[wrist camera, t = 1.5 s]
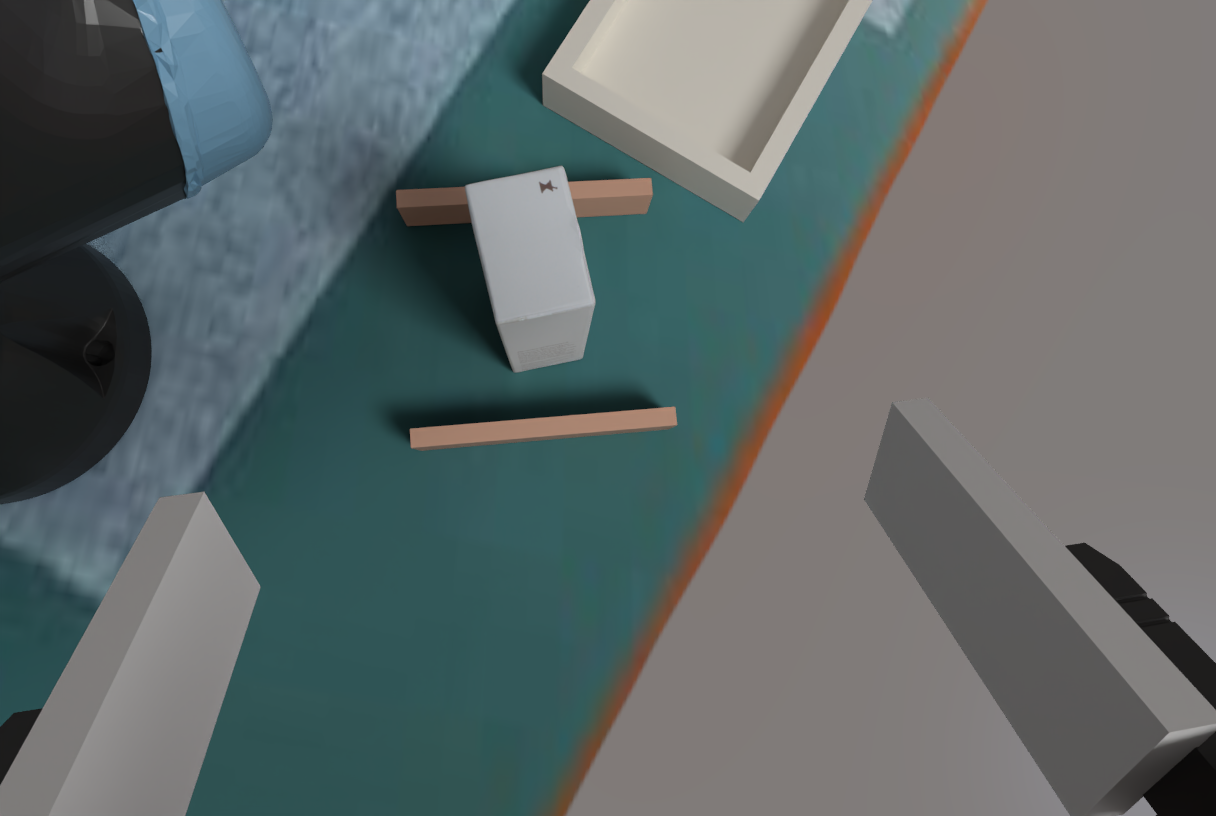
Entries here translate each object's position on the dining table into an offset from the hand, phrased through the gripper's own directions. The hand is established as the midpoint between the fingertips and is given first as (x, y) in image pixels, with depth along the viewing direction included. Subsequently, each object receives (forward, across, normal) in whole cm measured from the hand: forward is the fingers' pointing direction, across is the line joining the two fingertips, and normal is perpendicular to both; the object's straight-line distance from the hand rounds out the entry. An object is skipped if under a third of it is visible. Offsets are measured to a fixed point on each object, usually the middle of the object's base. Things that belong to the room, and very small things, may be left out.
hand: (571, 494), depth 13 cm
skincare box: (+24, 0, -10) cm, 26 cm away
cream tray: (+36, +14, +3) cm, 38 cm away
